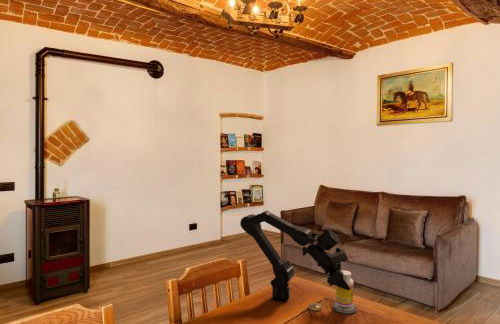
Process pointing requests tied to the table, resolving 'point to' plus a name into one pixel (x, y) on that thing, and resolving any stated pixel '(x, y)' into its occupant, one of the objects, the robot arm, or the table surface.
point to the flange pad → (344, 309)
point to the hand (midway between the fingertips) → (348, 285)
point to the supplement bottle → (345, 292)
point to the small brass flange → (315, 307)
